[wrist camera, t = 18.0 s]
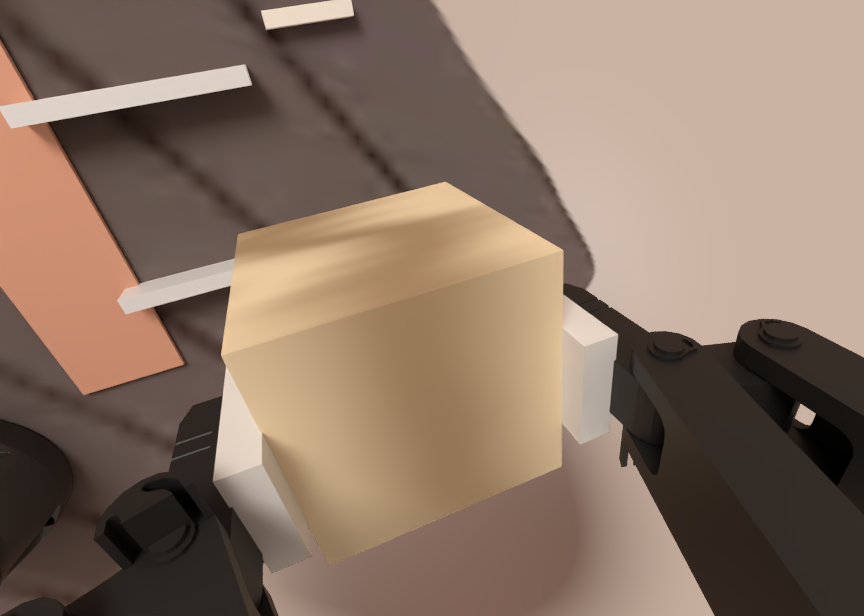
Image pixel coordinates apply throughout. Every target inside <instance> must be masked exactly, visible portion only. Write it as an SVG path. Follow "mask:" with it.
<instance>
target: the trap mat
mask: <svg viewBox="0 0 864 616" xmlns="http://www.w3.org/2000/svg"><path fill="white" fill-rule="evenodd" d="M34 100H35V99H34V97H33V96H32V94H31V92H30V90H29V89H28V87H27V85H26V83H25V82H24V80H23V78H22V76H21V75H20V73H19V71H18V69H17V68H16V66H15V64H14V62H13V61H12V59H11V57H10V55H9V53H8V52H7V50H6V48H5V46H4V45H3V43H2V41H1V39H0V106H4V105H10V104H16V103H22V102H28V101H34ZM139 284H140V283H139V281H138V279H137V278H136V276H135V274H134V272H133V271H132V269H131V267H130V265H129V264H128V262H127V260H126V258H125V257H124V255H123V253H122V251H121V250H120V248H119V246H118V244H117V243H116V241H115V239H114V237H113V236H112V234H111V232H110V230H109V229H108V227H107V225H106V223H105V222H104V220H103V218H102V216H101V215H100V213H99V211H98V209H97V208H96V206H95V204H94V202H93V201H92V199H91V197H90V195H89V194H88V192H87V190H86V188H85V187H84V185H83V183H82V181H81V180H80V178H79V176H78V174H77V173H76V171H75V169H74V167H73V166H72V164H71V162H70V160H69V159H68V157H67V155H66V153H65V152H64V150H63V148H62V146H61V145H60V143H59V141H58V139H57V138H56V136H55V134H54V132H53V131H52V129H51V127H50V125H49V124H48V122H45V123H39V124H34V125H28V126H23V127H17V128H10V126H9V125H8V123H7V121H6V120H5V118H4V116H3V115H2V113H1V112H0V286H1V288H2V289H3V290H4V292H5V293H6V294H7V296H8V297H9V298H10V300H11V301H12V302H13V303H14V305H15V306H16V307H17V309H18V310H19V311H20V313H21V314H22V315H23V317H24V318H25V319H26V320H27V322H28V323H29V324H30V326H31V327H32V328H33V330H34V331H35V332H36V333H37V335H38V336H39V337H40V339H41V340H42V341H43V343H44V344H45V345H46V347H47V348H48V349H49V350H50V352H51V353H52V354H53V356H54V357H55V358H56V360H57V361H58V362H59V364H60V365H61V366H62V367H63V369H64V370H65V371H66V373H67V374H68V375H69V377H70V378H71V379H72V381H73V382H74V383H75V384H76V386H77V387H78V388H79V390H80V391H81V392H82V394H83V395H86V394H89V393H92V392H95V391H99V390H102V389H105V388H109V387H112V386H115V385H118V384H122V383H125V382H128V381H132V380H135V379H138V378H141V377H145V376H148V375H151V374H155V373H158V372H161V371H165V370H168V369H171V368H174V367H178V366H181V365H184V363H185V362H184V360H183V358H182V356H181V355H180V353H179V351H178V349H177V348H176V346H175V344H174V342H173V341H172V339H171V337H170V335H169V334H168V332H167V330H166V328H165V327H164V325H163V323H162V321H161V320H160V318H159V316H158V314H157V313H156V311H155V309H154V307H151V308H147V309H143V310H140V311H136V312H132V313H129V314H125V313H124V311H123V309H122V308H121V306H120V304H119V303H118V301H117V300H118V299H119V297H120V296H121V294H122V292H123V291H124V289H126V288H130V287H134V286H138V285H139Z"/></svg>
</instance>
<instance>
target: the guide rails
mask: <svg viewBox="0 0 864 616" xmlns="http://www.w3.org/2000/svg"><path fill="white" fill-rule="evenodd" d="M250 85H252V82H251V79H250V76H249V72H248V69H247V66H246V65H240V66H234V67H228V68H222V69H216V70H210V71H204V72H198V73H192V74H187V75H181V76H175V77H169V78H163V79H157V80H151V81H145V82H140V83H134V84H128V85H122V86H116V87H110V88H104V89H98V90H93V91H87V92H81V93H75V94H69V95H63V96H57V97H51V98H45V99H40V100H34V101H28V102H22V103H16V104H10V105H4V106H0V112H1V113H2V115H3V116H4V118H5V120H6V121H7V123H8V125H9V126H10V128H17V127H23V126H28V125H34V124H39V123H45V122H50V121H56V120H61V119H67V118H72V117H78V116H84V115H89V114H95V113H100V112H106V111H111V110H117V109H122V108H128V107H133V106H139V105H145V104H150V103H156V102H161V101H167V100H172V99H178V98H183V97H189V96H194V95H200V94H205V93H211V92H217V91H222V90H228V89H233V88H239V87H244V86H250ZM234 260H235V259H231V260H227V261H223V262H219V263H215V264H212V265H208V266H204V267H200V268H196V269H192V270H189V271H185V272H181V273H177V274H173V275H169V276H166V277H162V278H158V279H154V280H150V281H147V282H143V283H140V284H139V285H138V286H134V287H130V288H126V289H124V291H123V292H122V294H121V296H120V297H119V299H118V300H117V301H118V303H119V304H120V306H121V308H122V309H123V311H124V313H125V314H129V313H132V312H136V311H140V310H143V309H147V308H151V307H154V306H158V305H162V304H165V303H169V302H173V301H176V300H180V299H184V298H187V297H191V296H195V295H198V294H202V293H206V292H209V291H213V290H217V289H220V288H224V287H228V286H231V281H232V274H233V267H234Z"/></svg>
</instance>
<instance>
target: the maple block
mask: <svg viewBox="0 0 864 616" xmlns="http://www.w3.org/2000/svg"><path fill="white" fill-rule="evenodd" d="M562 327H563V250H562V249H560V248H559V247H557V246H555V245H553V244H552V243H550V242H548V241H546V240H545V239H543V238H541V237H540V236H538V235H536V234H534V233H533V232H531V231H529V230H528V229H526V228H524V227H522V226H521V225H519V224H517V223H515V222H514V221H512V220H510V219H509V218H507V217H505V216H503V215H502V214H500V213H498V212H497V211H495V210H493V209H491V208H490V207H488V206H486V205H485V204H483V203H481V202H479V201H478V200H476V199H474V198H472V197H471V196H469V195H467V194H466V193H464V192H462V191H460V190H459V189H457V188H455V187H454V186H452V185H450V184H448V183H447V182H443V183H439V184H435V185H431V186H427V187H423V188H419V189H415V190H411V191H408V192H404V193H400V194H396V195H392V196H388V197H384V198H380V199H376V200H372V201H368V202H364V203H360V204H356V205H352V206H348V207H344V208H340V209H336V210H332V211H328V212H324V213H320V214H316V215H313V216H309V217H305V218H301V219H297V220H293V221H289V222H285V223H281V224H277V225H273V226H269V227H265V228H261V229H257V230H253V231H249V232H245V233H241V234H238V239H237V246H236V253H235V260H234V267H233V274H232V281H231V289H230V296H229V303H228V310H227V317H226V324H225V331H224V338H223V345H222V352H221V356H222V358H223V360H224V362H225V364H226V366H227V368H228V370H229V372H230V374H231V376H232V378H233V380H234V382H235V384H236V386H237V388H238V390H239V392H240V394H241V395H242V397H243V399H244V401H245V403H246V405H247V407H248V409H249V411H250V413H251V415H252V417H253V419H254V421H255V423H256V425H257V427H258V429H259V431H260V433H261V432H262V434H263V435H264V437H265V439H266V441H267V443H268V445H269V447H270V449H271V451H272V453H273V455H274V457H275V459H276V461H277V463H278V465H279V467H280V469H281V471H282V473H283V475H284V477H285V479H286V481H287V483H288V485H289V487H290V489H291V491H292V493H293V495H294V497H295V499H296V501H297V503H298V505H299V507H300V509H301V511H302V513H303V514H304V516H305V518H306V520H307V522H308V526H309V528H310V530H311V532H312V534H313V536H314V538H315V540H316V542H317V544H318V546H319V548H320V550H321V551H322V553H323V555H324V557H325V559H326V561H327V563H328V565H329V566H331V565H333V564H335V563H337V562H340V561H342V560H344V559H347V558H349V557H351V556H354V555H356V554H359V553H361V552H363V551H366V550H368V549H370V548H372V547H375V546H377V545H379V544H382V543H384V542H386V541H389V540H391V539H394V538H396V537H398V536H401V535H403V534H405V533H407V532H410V531H412V530H415V529H417V528H419V527H422V526H424V525H426V524H429V523H431V522H433V521H435V520H438V519H440V518H442V517H445V516H447V515H449V514H452V513H454V512H457V511H459V510H461V509H464V508H466V507H468V506H471V505H473V504H475V503H477V502H480V501H482V500H485V499H487V498H489V497H492V496H494V495H496V494H498V493H501V492H503V491H506V490H508V489H510V488H513V487H515V486H517V485H520V484H522V483H524V482H526V481H529V480H531V479H534V478H536V477H538V476H541V475H543V474H545V473H547V472H550V471H552V470H554V469H557V468H559V467H561V466H562V423H561V370H562Z"/></svg>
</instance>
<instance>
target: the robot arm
mask: <svg viewBox="0 0 864 616" xmlns="http://www.w3.org/2000/svg"><path fill="white" fill-rule="evenodd" d="M800 404H802V405H804V406H806V407H807V408H808V409H810V410H811V411H813V412H814V413H816V415H815V418H814V420H813V422H812V424H811V425H805V424H803V423H801V422H799V421H798V420H796V419H795V416H796V414H797V411H798V408H799V406H800ZM611 414H612V415H614V417H616V418H617V419H618V420H619V421H620V422H621V423H622V424H623V431H622V441H621V449H620V457H619V459H620V463H621V467H624V466H627V459H628V452H629V453H630V455H631V458H632V459H633V465H636V467H637V469H638V471H639V473H640V475H641V476H642V478H643V480H644V482H645V484H646V486H647V488H648V490H649V492H650V494H651V496H652V497H653V499H654V501H655V503H656V505H657V507H658V509H659V511H660V513H661V514H662V516H663V518H664V520H665V522H666V524H667V526H668V528H669V530H670V532H671V533H672V535H673V537H674V539H675V541H676V543H677V545H678V547H679V549H680V551H681V553H682V554H683V556H684V558H685V560H686V562H687V564H688V566H689V568H690V570H691V572H692V573H693V575H694V577H695V579H696V581H697V583H698V585H699V587H700V589H701V591H702V592H703V594H704V596H705V598H706V600H707V602H708V604H709V606H710V608H711V609H712V611H713V613H714V615H715V616H864V358H863V357H861V356H860V355H858V354H856V353H854V352H852V351H850V350H848V349H846V348H844V347H842V346H840V345H838V344H836V343H834V342H832V341H830V340H828V339H826V338H824V337H822V336H820V335H818V334H816V333H815V332H813V331H811V330H809V329H807V328H804V327H802V326H799V325H797V324H794V323H791V322H786V321H782V320H777V319H758V320H752V321H748V322H747V323H745V324H743V325H741V327H740V330H739V332H738V336H737V340H736V342H732V343H722V344H713V345H704V346H702V345H700V344H699V343H697V342H696V341H695V340H693V339H691V338H689V337H687V336H684V335H681V334H678V333H672V332H666V331H663V332H661V331H660V332H650V333H649V332H647V331H646V330H644V329H643V328H642V327H640V326H639V325H637V324H635V323H634V322H633V321H631V320H629V319H628V318H627V317H625V316H624V315H622V314H621V313H619V312H618V311H616V310H614V309H613V308H612V307H611V308H609V306H608V305H607V304H606V303H604V302H603V301H601V300H598V299H597V297H595V296H594V295H592V294H591V293H589V292H588V291H586V290H585V289H582V288H579V287H576V286H573V285H570V284H566V283H565V284H563V327H562V370H561V423H562V424H563V425H564V426H565V427H566V429H568V431H569V432H570V433H571V434H572V435H573V436H574V438H575V439H576V440H577V441H578V442H579V444H583V443H585V442H587V441H590V440H592V439H595V438H597V437H599V436H602V435H604V434H607V433H609V428H610V417H611ZM172 459H173V461H171V464H170V468H169V472H163V473H158V474H156V475H153V476H151V477H148V478H146V479H144V480H141V481H140V482H138V483H137V484H135V485H134V486H132V487H131V488H129V489H128V490H126V491H125V492H123V493H122V494H121V495H120V496H119V497H118V498H117V499H116V500H115V501H114V502H113V503H112V504H111V505H110V506H109V507H108V508H107V510H106V511H105V513H104V514H103V516H102V517H101V519H100V521H99V522H98V524H97V527H96V531H95V536H94V540H95V541H96V542H97V543H98V544H99V545H100V546H101V547H102V548H103V549H104V550H105V551H106V552H107V554H108V555H109V556H110V557H111V558H112V559H113V560H114V561H115V562H116V563H117V564H118V565H119V566H120V567H121V568H122V569H121V570H120V571H119V572H117V573H116V574H115V575H113V576H112V577H110V578H109V579H108V580H106V581H105V582H103V583H102V584H100V585H98V586H97V587H95V588H94V589H92V590H91V591H89V592H88V593H86V594H85V595H83V596H82V597H80V598H78V599H77V600H75V601H74V602H72V603H71V604H69V605H68V606H66V607H65V606H64V605H62V604H61V603H60V602H59V601H58V600H56V599H50V598H44V597H42V598H38V599H35V600H31V601H28V602H24V603H22V604H20V605H19V606H17V607H15V608H13V609H12V610H10V611H8V612H6V613H4V614H3V615H1V616H278V613H277V611H276V608H275V606H274V603H273V600H272V598H271V596H270V594H269V593H268V591H267V590H266V588H265V587H264V585H263V572H262V571H263V560H264V562H265V563H266V565H267V567H268V568H269V570H270V571H271V572H272V573H274V572H277V571H279V570H281V569H284V568H286V567H289V566H291V565H294V564H296V563H298V562H300V561H303V560H305V559H308V558H310V557H312V555H311V545H310V536H309V526H308V522H307V520H306V518H305V516H304V514H303V513H302V511H301V509H300V507H299V505H298V503H297V501H296V499H295V497H294V495H293V493H292V491H291V489H290V487H289V485H288V483H287V481H286V479H285V477H284V475H283V473H282V471H281V469H280V467H279V465H278V463H277V461H276V459H275V457H274V455H273V453H272V451H271V449H270V447H269V445H268V443H267V441H266V439H265V437H264V435H263V434H262V432H261V433H260V431H259V429H258V427H257V425H256V423H255V421H254V419H253V417H252V415H251V413H250V411H249V409H248V407H247V405H246V403H245V401H244V399H243V397H242V395H241V394H240V392H239V390H238V388H237V386H236V384H235V382H234V380H233V378H232V376H231V374H230V372H229V370H228V368H227V366H226V373H225V381H224V390H223V396H221V397H218V398H215V399H212V400H208V401H205V402H202V403H199V404H196V405H193V406H192V408H191V409H190V410H189V412H188V413H187V415H186V416H185V417H184V419H183V420H182V422H181V423H180V425H179V429H178V434H177V438H176V446H175V447H174V451H173V455H172ZM72 487H73V475H72V471H71V468H70V466H69V464H68V462H67V460H66V459H65V457H64V456H63V454H62V453H61V452H60V451H59V450H58V449H57V448H56V447H55V446H54V445H53V444H51V443H50V442H49V441H47V440H46V439H44V438H43V437H41V436H39V435H38V434H36V433H34V432H32V431H30V430H28V429H25V428H23V427H20V426H18V425H15V424H12V423H9V422H5V421H1V420H0V584H1V582H2V581H3V580H4V579H5V578H6V577H7V576H8V574H9V573H10V572H11V571H12V570H13V569H14V568H15V567H16V566H17V565H18V564H19V563H20V562H21V561H22V560H23V559H24V558H25V557H26V556H27V555H28V554H29V552H30V551H31V550H32V549H33V548H34V547H35V546H36V545H37V544H38V543H39V541H40V540H41V539H42V538H44V537H45V536H46V535H47V533H48V532H49V531H50V530H51V529H52V528H53V527H54V525H55V524H56V523H57V521H58V520H59V518H60V516H61V514H62V512H63V510H64V508H65V506H66V504H67V501H68V499H69V497H70V494H71V491H72Z"/></svg>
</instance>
